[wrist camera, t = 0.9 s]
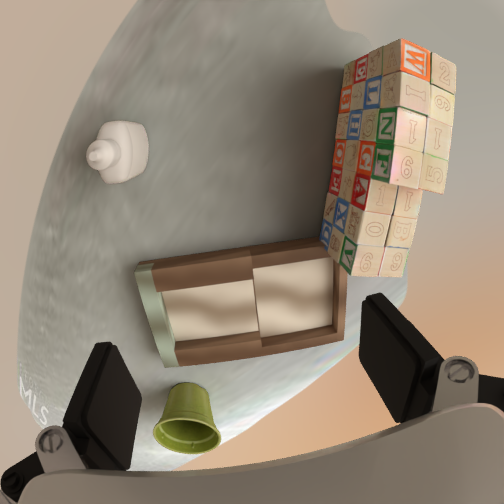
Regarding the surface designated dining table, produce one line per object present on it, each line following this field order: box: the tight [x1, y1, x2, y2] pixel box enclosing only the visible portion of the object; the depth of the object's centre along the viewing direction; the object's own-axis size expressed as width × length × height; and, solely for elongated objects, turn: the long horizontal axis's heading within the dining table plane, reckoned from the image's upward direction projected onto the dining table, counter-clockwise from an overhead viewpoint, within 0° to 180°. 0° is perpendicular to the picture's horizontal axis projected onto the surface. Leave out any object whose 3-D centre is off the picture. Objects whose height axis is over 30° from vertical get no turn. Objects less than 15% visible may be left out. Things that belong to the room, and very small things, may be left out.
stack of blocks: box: [319, 38, 456, 277], centre depth 26 cm, size 21×6×12 cm, turn 173°
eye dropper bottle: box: [86, 121, 149, 184], centre depth 24 cm, size 4×6×12 cm
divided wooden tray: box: [134, 236, 347, 368], centre depth 37 cm, size 14×24×3 cm, turn 96°
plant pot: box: [153, 383, 221, 454], centre depth 39 cm, size 9×9×9 cm
